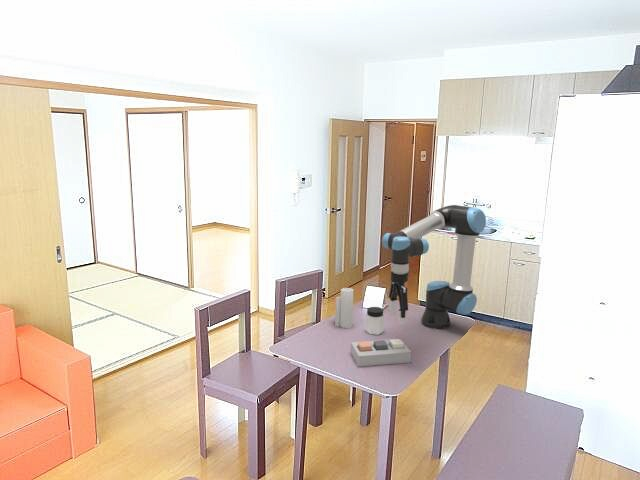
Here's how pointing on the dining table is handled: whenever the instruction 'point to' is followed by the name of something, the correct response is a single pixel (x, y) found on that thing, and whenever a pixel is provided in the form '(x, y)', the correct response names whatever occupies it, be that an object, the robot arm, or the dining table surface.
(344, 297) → the grey stepped double column
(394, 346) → the ivory key
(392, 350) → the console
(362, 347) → the terracotta key
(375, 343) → the charcoal key
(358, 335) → the dining table surface
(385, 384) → the dining table surface
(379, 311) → the jar
